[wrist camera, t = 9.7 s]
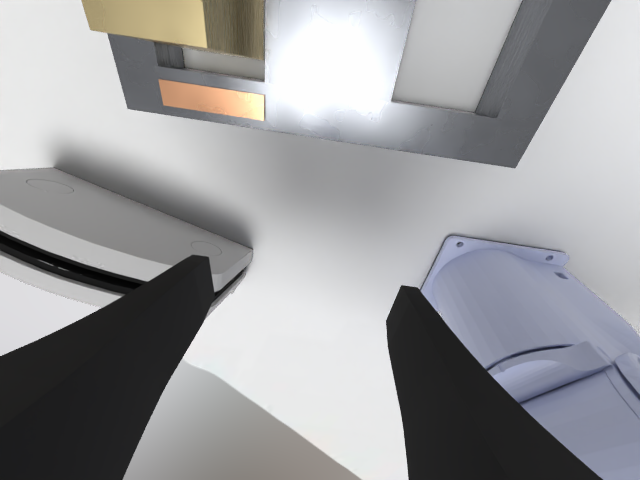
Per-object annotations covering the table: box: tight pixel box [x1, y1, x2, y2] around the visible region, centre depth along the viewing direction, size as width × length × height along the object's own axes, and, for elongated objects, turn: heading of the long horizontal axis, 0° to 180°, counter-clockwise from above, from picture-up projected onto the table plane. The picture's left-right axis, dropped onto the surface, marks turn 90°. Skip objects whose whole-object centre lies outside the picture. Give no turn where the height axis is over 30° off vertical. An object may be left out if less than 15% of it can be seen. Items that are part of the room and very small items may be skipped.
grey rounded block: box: [0, 168, 253, 319], centre depth 18 cm, size 17×5×10 cm, turn 65°
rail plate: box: [107, 0, 611, 168], centre depth 12 cm, size 22×10×3 cm, turn 83°
